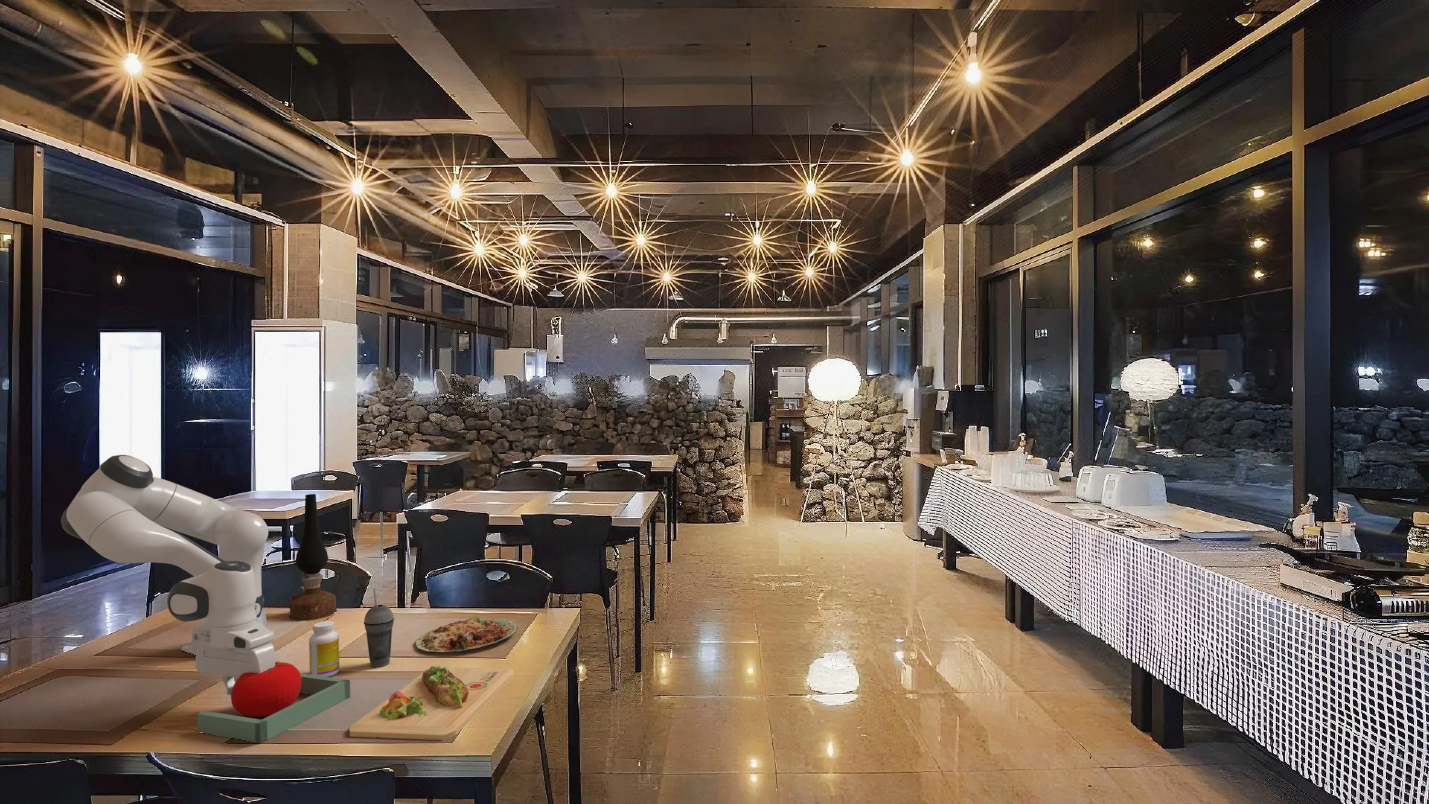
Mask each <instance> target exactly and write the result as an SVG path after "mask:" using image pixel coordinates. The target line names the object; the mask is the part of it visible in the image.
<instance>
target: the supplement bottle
mask: <svg viewBox="0 0 1429 804" xmlns="http://www.w3.org/2000/svg"><path fill="white" fill-rule="evenodd" d="M334 627H335V622H334V621H332V620H331V621H330V620H325V621H319V622H317V623H315V624H313V625H312V631H313V634H312V635H310V637H309V639H308V648H309V649H308V650H309V651H308V653H309V675H315V676H323V677H329V676H330V677H331V676H334V675H337V674H338V672H340V643H339V641H340V640H339V638H340V637H339V633H338V632H337V631H334Z"/></svg>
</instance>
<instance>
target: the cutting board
mask: <svg viewBox="0 0 1429 804" xmlns="http://www.w3.org/2000/svg"><path fill="white" fill-rule="evenodd" d="M513 678H515V672H514V669H512V668H499V667H498V668H496V667H495V668H494V667H493V668H492V667H462V666H459V667H455V666H441V665H437V666H430V667H429V668H427V669H425V670H422V672H420V673H419V674H418V675H417V676H416V677H414V678H412V679H411V680H410V681H408V682H407V683H405V684H404V685H403V686H402V687H400V688H398V690H396V691H394V693H392V694H391V695H390V696H388V697H387V698H386V699H384V700H383V701H381V702H380V703H378V704H377V705H376V706H374V708H372V709H371V710H370V711H368V712H367V713H365V714H364V715H363V716H362V717H360V718H358V719H357V720H356V721H355V722H353V723H352V724H350V725H349V737H351V738H353V737H354V738H376V737H378V739H379V737H380V738H382V739H404V740H430V741H431V740H432V741H445V740H448V739H450V738H452V737H456V736H457V735H458V734H459V733H460V732H461V731H462V730H463V729H464V728H465V727H466V726H467V724H469V723H470V722H471V721H472V720H473V719H474V718H475V717H474V716H477V715H478V713H480V711H482V710H483V708H485V706H486V705H488V704H489V703H490V702H491V700H493V699H494V698H495V696H496V695H498V693H500V691H502V690H503V688H504V687H506V686H507V684H509V682H511V681H512V679H513ZM471 719H472V720H471ZM470 720H471V721H470ZM468 722H469V723H468ZM465 725H466V726H465ZM459 731H460V732H459Z"/></svg>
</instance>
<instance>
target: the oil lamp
mask: <svg viewBox="0 0 1429 804" xmlns="http://www.w3.org/2000/svg"><path fill="white" fill-rule="evenodd" d="M304 498H305V499H304V522H303V523H304V525H303V532H302V533H303V535H302V538H301V540H300V544H299V548H298V550H297V552H296V556H295V560H294V561H295V566H296V567H297V568H298V570H300V571H301V572H303V573H304V575H303V576H302V577H301V580H302V583H303V584H304V586H303V585H302V586H300V587H299V592H302V593H294V594H292V595H291V597H292V598H291V600H290V601H289V616H288V619H289V618H290V619H289V620H291V619H292V620H291V621H295V620H306V621H313V620H318V619H319V618H320V619H323V618H324V619H325V618H327V617H329V616H332V614H333V615H334V614H335V613H334V612H338V609H337V607H336V606H337V604H336V603H337V601H336V599H337V598H336V595H335V594H333V593H331V592H330V591H329V592H328V591H327V590H321V587H322V586H321V582H322V579H323V577H324V575H323V574H322V573H320V572H321V571H322V570H323V569H324V568H325V567H326V565H327V564H328V562H329V555H328V551H327V548H326V547H325V545H324V543H323V540H322V539H323V538H322V536H321V534H320V528H319V520H318V519H319V517H318V506H317V494H316V493H310V494H308V493H307V494H305V497H304ZM303 591H304V592H303ZM320 619H319V620H320Z"/></svg>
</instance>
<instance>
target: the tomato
mask: <svg viewBox="0 0 1429 804" xmlns="http://www.w3.org/2000/svg"><path fill="white" fill-rule="evenodd" d="M300 674H301V673H300V671H299V669H298V668H297V667H296V666H295V665H294V664H292V663H289V662H284V661H283V662H282V661H281V660H276V661H275V666H274V667H273V668H269V669H268V670H266V671H264V672H262V673H252V672H247V673H243V674H241V675H240V677H239V678H238V679H237V680H236V682H235V684H234V686H233V688H232V692H231V695H230V699H231V700H230V701H231V705H232V708H234V710H236V712H237V713H239V714H241V715H243V716H244V717H249V718H255V717H265V716H266V717H268V716H270V715H272V714H274V713H276V712H278V711H281V710H283V709H285V708H287V707H289V706H291V705H293V704H295V703H296V702H295V701H296V700H297V699H298V697H299V694H300V693H299V692H300V688H301V675H300Z"/></svg>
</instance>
